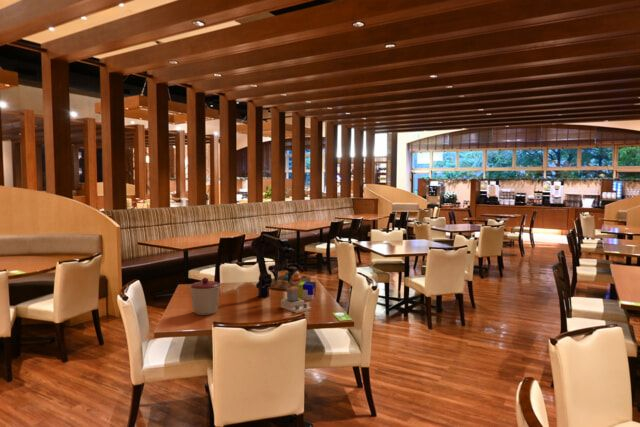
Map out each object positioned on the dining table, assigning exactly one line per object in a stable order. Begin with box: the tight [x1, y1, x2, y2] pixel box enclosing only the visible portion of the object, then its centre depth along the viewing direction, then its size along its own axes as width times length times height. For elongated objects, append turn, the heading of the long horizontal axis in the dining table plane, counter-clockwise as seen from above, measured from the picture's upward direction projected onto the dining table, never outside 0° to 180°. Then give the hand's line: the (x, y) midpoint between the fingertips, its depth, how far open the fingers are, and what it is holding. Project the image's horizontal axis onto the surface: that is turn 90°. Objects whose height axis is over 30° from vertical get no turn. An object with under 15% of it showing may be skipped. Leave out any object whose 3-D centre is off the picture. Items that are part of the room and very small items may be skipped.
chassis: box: [280, 298, 312, 314], centre depth 273 cm, size 17×11×4 cm, turn 39°
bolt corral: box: [269, 273, 312, 291], centre depth 333 cm, size 23×24×6 cm
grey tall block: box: [286, 286, 298, 302], centre depth 275 cm, size 5×5×11 cm
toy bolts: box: [283, 270, 302, 282], centre depth 335 cm, size 18×17×12 cm
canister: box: [188, 277, 222, 316], centre depth 261 cm, size 18×18×21 cm
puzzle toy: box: [298, 281, 317, 301], centre depth 299 cm, size 10×10×10 cm
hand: (282, 281), depth 287 cm, fingers open, 9 cm apart
